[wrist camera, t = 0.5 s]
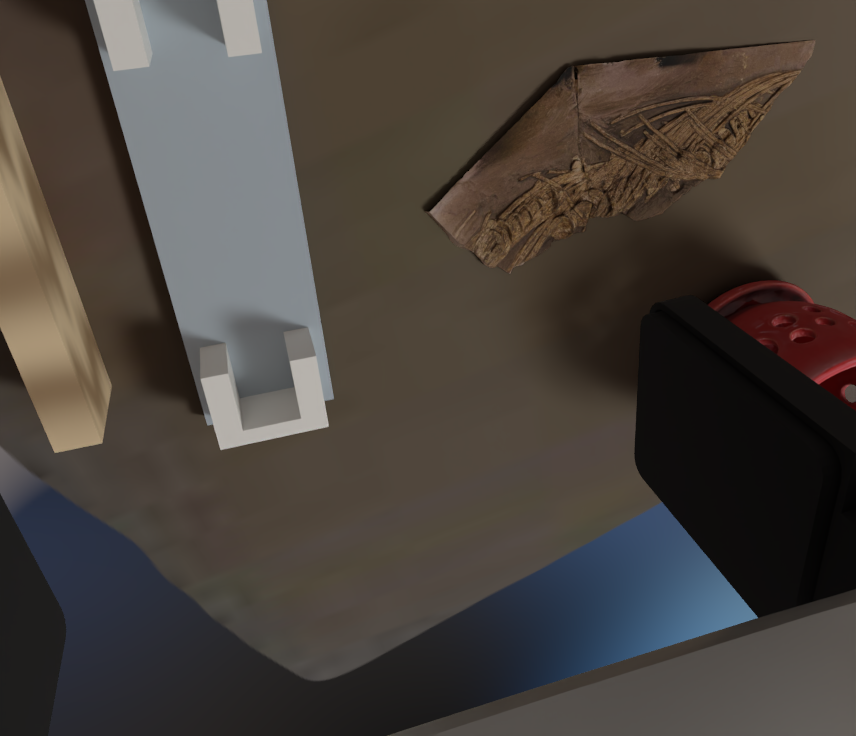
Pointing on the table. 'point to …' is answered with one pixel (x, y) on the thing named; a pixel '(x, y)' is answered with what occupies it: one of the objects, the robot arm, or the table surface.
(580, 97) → the wooden fragment
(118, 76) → the endcap board
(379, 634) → the table surface
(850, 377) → the plant pot
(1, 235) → the slat
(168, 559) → the table surface
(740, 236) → the table surface
